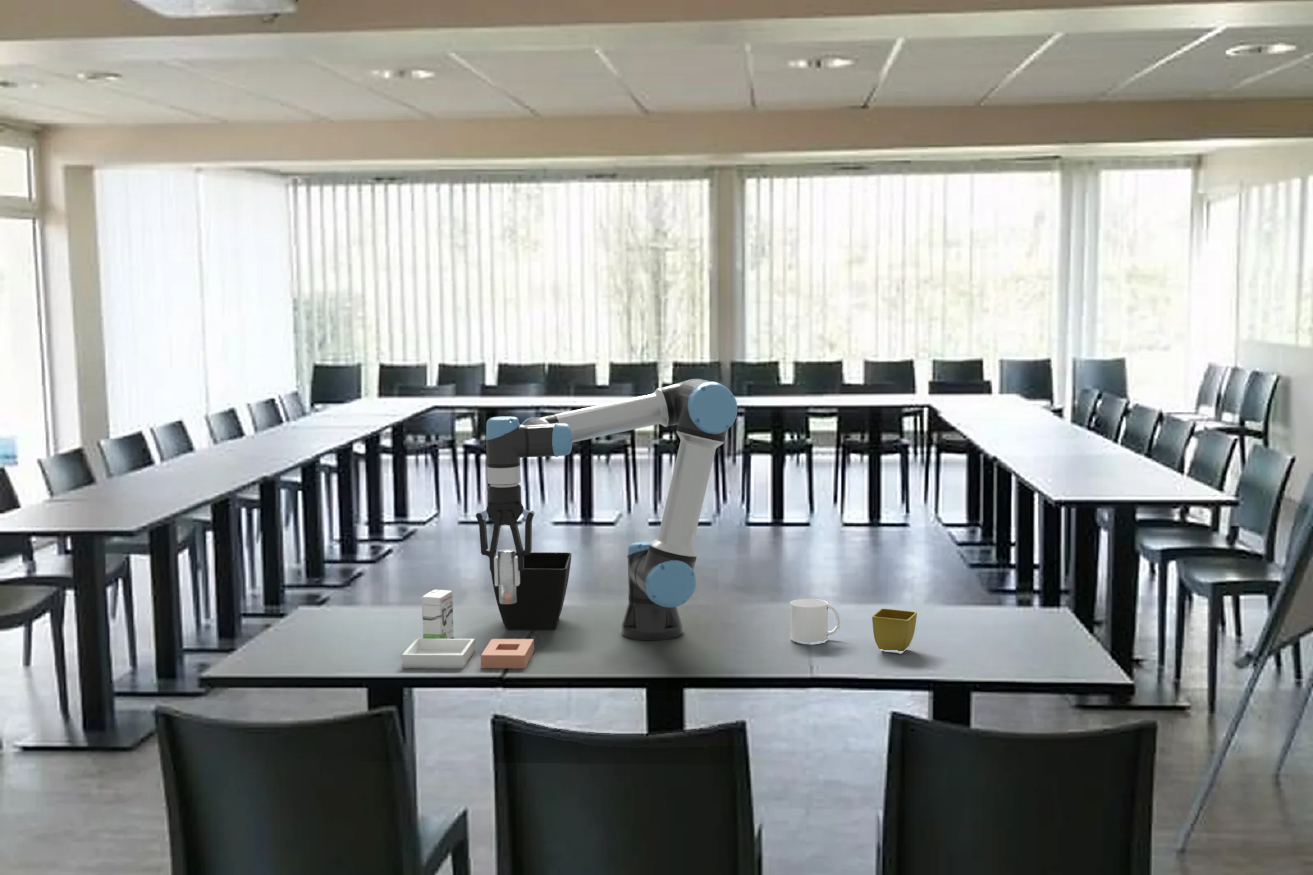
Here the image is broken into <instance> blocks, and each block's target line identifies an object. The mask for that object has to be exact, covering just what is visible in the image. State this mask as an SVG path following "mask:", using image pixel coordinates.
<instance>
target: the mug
mask: <svg viewBox="0 0 1313 875" xmlns="http://www.w3.org/2000/svg"><path fill="white" fill-rule="evenodd" d="M789 607H790V609H789V611H790V619H789V620H790V622H789V623H790V624H789V625H790V628H789V630H790V634H789V638H791V639H792V640H794V641H803V642H817V641H824V640H826V639H827V638H828V639H829V636H832V635H834V634H836V633H837V632H838V630H840V627H841V620H840V616H839V613H838V612H837V610H836V609H835V607H834V606H833V605H830V604H829V602H828V601H826V600H824V599H820V598H819V599H817V598H798V599H793V600H791V601H790V606H789ZM829 609H830V610H832V612H833V613H834V616H835V618H836V626H835V627H834V628H833V629H832V630H829ZM827 636H828V637H827ZM791 639H790V640H791Z"/></svg>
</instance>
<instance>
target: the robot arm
mask: <svg viewBox="0 0 1313 875" xmlns="http://www.w3.org/2000/svg"><path fill="white" fill-rule="evenodd" d="M737 416H738V403H737V399H736V398H735V395H734V394H733V392H732V391H731V390H730V389H729V387H727V386H725V385H723V384H722V383H721V382H720V383H719V382H717V381H711V380H706V379H704V378H703V379H702V378H691V379H688V380H687V379H686V380H684V381H680V382H677V383H675V384H671V385H668V386H667V385H666V386H663V387H657V388H656V389H655V391H654V392H653V393H650V394H647V395H646V394H644V395H640V396H636V397H631V398H627V399H622V400H617V401H616V400H615V401H613V402H612V401H611V402H608V403H607V402H606V403H603V404H599V405H593V406H588V407H583V408H580V409H575V410H574V409H573V410H569V411H564V412H561V413H555V414H551V415H545V416H542V417H541V416H532V417H528V418H526V419H525V420H523V421H522V423H521V424H520V421H519V418H518V417H516V416H493V417H490V418H488V419H487V421H486V427H485V428H486V430H485V431H486V434H485V441H486V442H485V443H486V444H485V445H486V447H485V448H486V464H487V465H486V469H487V470H486V472H487V473H486V474H487V478H486V479H487V484H489V485H488V486H487V502H488V503H487V506H486V508H485V509H484V510H482V511H481V510H480V511H478V512H477V513H476V514H475V518H476V521H477V522H478V528H479V543H480V553H481V555H482V556H486V557H488V559H489V570H490V572H491V571H494V577H495V586H499V576H498V555H497V549H498V545H499V544H498V542H499V538H500V532H501V528H502V526H504V525H506V526H509V528H510V532H511V534H512V535H511V536H512V538H513V543H514V548H515V552H517V556H515V558H514V570H515V586H519V584H520V571H523V569H524V556H525V555H529V554H530V553H531V552H533V551H532V550H533V549H532V546H533V537H532V536H533V519H534V517H535V514H536V512H535V511H534V510H531V511H530V510H528V509H525V507H524V506H523V504H522V486H521V485H520V483H521V481H522V479H521V459H522V458H523V459H524V458H543V457H544V458H546V457H547V458H548V457H555V458H557V457H561V456H569V455H570V454H571V452H572V449H573V443H577V442H580V441H586V440H591V439H594V438H599V437H600V438H601V437H603V436H609V435H615V434H618V433H619V434H620V433H623V432H628V431H632V430H636V429H642V428H647V427H651V426H656V425H661V426H662V427H665V428H666V427H671V426H677V427H676V434H677V436H678V438H679V439H680V442H679V446H678V450H677V455H676V459H675V463H674V467H673V472H672V476H671V479H670V485H669V488H668V492H667V497H666V501H665V505H664V510H663V514H662V517H661V522H660V527H659V531H658V535H657V537H656V538H655V539H654V540H651V541H650V540H648V541H647V540H646V541H638V542H632V543H630V544H629V545H628V548H627V556H626V558H627V585H628V587H627V588H628V589H627V590H628V592H627V594H628V597H627V598H628V603H627V605H626V609H625V614H624V615H623V618H622V619H623V620H622V622H621V634H622V635H623V636H624V637H626V638H629V639H631V640H632V639H633V640H639V641H640V640H641V641H662V640H669V639H670V640H671V639H673V638H677V637H680V636H681V635H682V634H683V621H682V619H681V616H680V613H679V610H678V607H680V606H682V605H684V604H685V603H687V602H688V601H690V599H691V598H692V596H693V594H694V593H695V591H696V587H697V578H696V573H695V572H694V569H695V565H696V561H697V557H698V553H697V552H696V550H695V548H694V542H695V537H696V533H697V529H698V525H699V522H700V517H701V514H702V508H703V504H704V500H705V496H706V492H707V487H708V483H709V479H710V475H711V471H712V467H713V462H714V458H715V455H716V449H717V448H718V447H720V446H722V445H723V444H724V443H725V439H726V436H727V432H728V430H729V429H730V428H731V427H732V426H733V424H734V423H735V420H736V418H737ZM521 515H523V519H524V520H525V521H524V522H525V523H524V547H523V543H522V539H521V534H520V530H519V523H518V520H519V518H520V517H521ZM488 516H489V517H490V519H492V521H493V528H492V529H493V530H492V535H491V542H490V545H489V544H488V543H489V542H488V530H487V519H488Z"/></svg>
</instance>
